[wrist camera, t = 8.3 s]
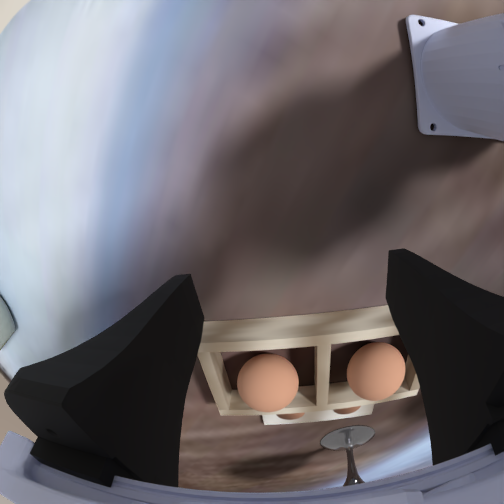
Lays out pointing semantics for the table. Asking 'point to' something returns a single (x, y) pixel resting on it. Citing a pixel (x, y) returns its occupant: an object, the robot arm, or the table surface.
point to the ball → (376, 371)
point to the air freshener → (5, 323)
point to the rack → (293, 336)
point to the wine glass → (348, 446)
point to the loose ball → (267, 382)
